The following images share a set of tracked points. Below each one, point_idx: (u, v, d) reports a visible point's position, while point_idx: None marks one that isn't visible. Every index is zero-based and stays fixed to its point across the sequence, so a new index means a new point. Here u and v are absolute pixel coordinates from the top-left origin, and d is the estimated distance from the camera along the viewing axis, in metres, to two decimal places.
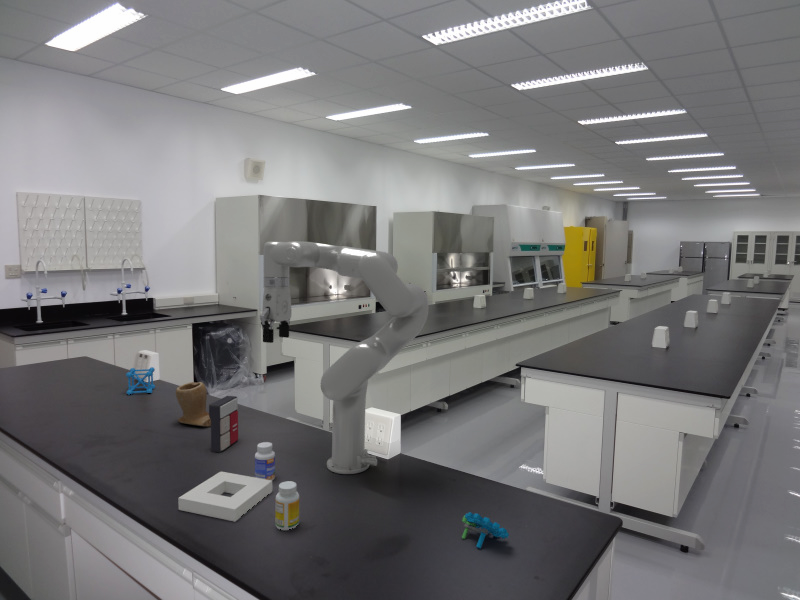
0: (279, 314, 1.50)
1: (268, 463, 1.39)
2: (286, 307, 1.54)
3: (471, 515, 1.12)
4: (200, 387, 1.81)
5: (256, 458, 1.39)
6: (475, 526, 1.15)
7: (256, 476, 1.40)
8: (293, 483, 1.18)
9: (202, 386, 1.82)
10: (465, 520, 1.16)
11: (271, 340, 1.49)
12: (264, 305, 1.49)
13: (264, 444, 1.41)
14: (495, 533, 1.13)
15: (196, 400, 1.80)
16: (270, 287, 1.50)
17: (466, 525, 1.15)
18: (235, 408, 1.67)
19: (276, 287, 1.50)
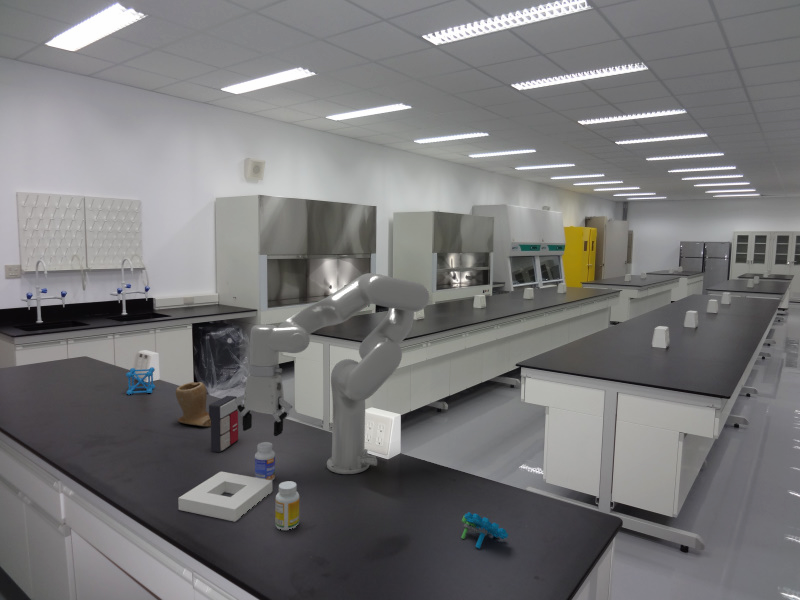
0: None
1: (268, 463, 1.39)
2: None
3: (470, 515, 1.12)
4: (200, 387, 1.81)
5: (256, 458, 1.39)
6: (475, 526, 1.15)
7: (256, 476, 1.40)
8: (293, 483, 1.18)
9: (202, 386, 1.82)
10: (465, 520, 1.16)
11: None
12: (276, 396, 1.37)
13: (264, 444, 1.41)
14: (494, 533, 1.13)
15: (196, 400, 1.80)
16: (276, 375, 1.38)
17: (466, 525, 1.15)
18: (235, 408, 1.67)
19: None
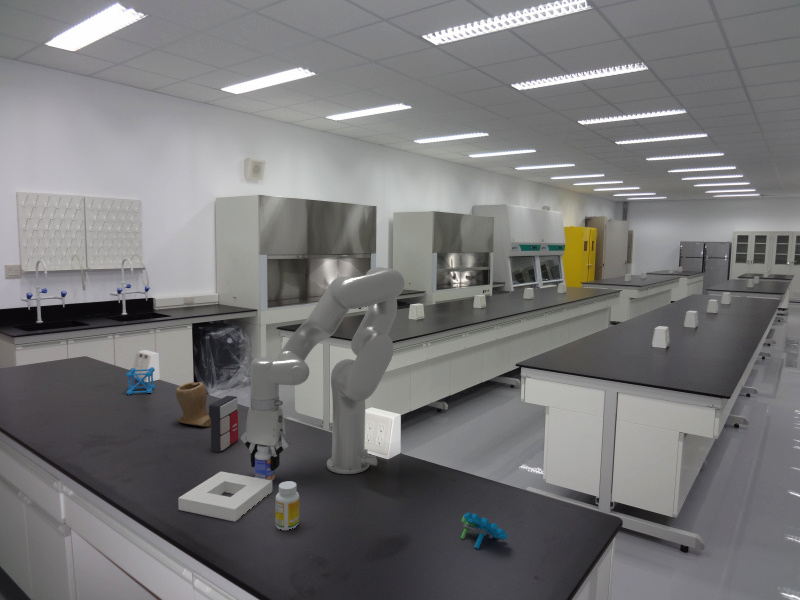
0: None
1: (268, 463, 1.39)
2: None
3: (469, 515, 1.12)
4: (200, 387, 1.81)
5: (256, 458, 1.39)
6: (474, 526, 1.15)
7: (256, 476, 1.40)
8: (293, 483, 1.18)
9: (202, 386, 1.82)
10: (464, 520, 1.16)
11: None
12: (278, 429, 1.38)
13: None
14: (494, 534, 1.13)
15: (196, 400, 1.80)
16: (277, 408, 1.39)
17: (465, 525, 1.15)
18: (235, 408, 1.67)
19: (278, 406, 1.41)
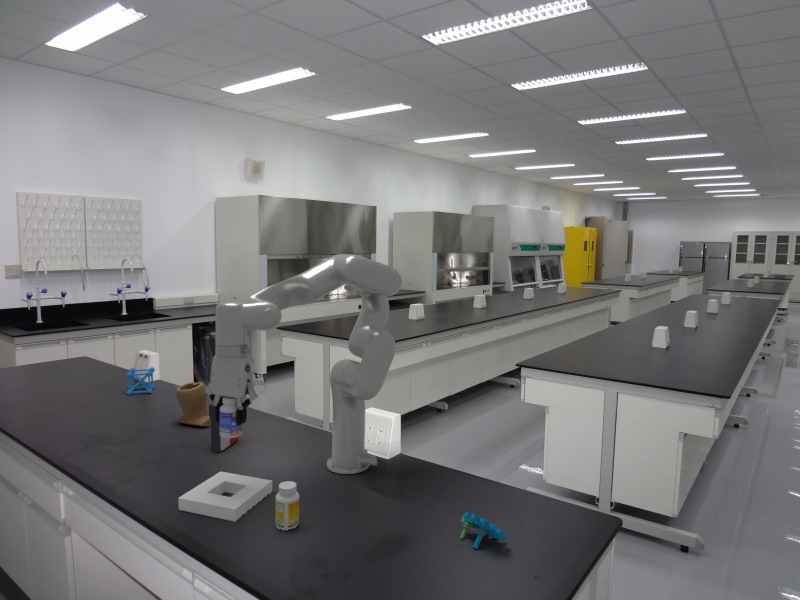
0: None
1: (233, 416, 1.26)
2: None
3: (468, 515, 1.12)
4: (200, 387, 1.81)
5: (221, 411, 1.27)
6: (473, 527, 1.15)
7: (220, 431, 1.27)
8: (293, 483, 1.18)
9: (202, 386, 1.82)
10: (464, 520, 1.16)
11: None
12: (245, 379, 1.25)
13: None
14: (493, 534, 1.12)
15: (196, 400, 1.80)
16: (244, 356, 1.26)
17: (464, 525, 1.15)
18: None
19: None
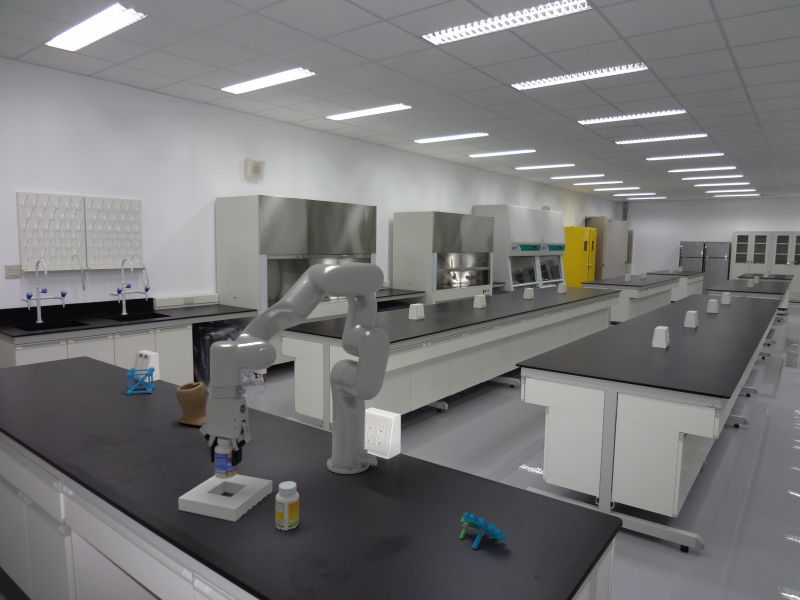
0: None
1: (229, 457, 1.26)
2: None
3: (468, 515, 1.12)
4: (200, 387, 1.81)
5: (216, 452, 1.26)
6: (473, 527, 1.15)
7: (215, 472, 1.26)
8: (293, 483, 1.18)
9: (202, 386, 1.82)
10: (463, 520, 1.16)
11: (240, 459, 1.28)
12: (240, 420, 1.24)
13: None
14: (492, 535, 1.12)
15: (196, 400, 1.80)
16: (239, 397, 1.26)
17: (464, 525, 1.15)
18: None
19: (241, 394, 1.27)
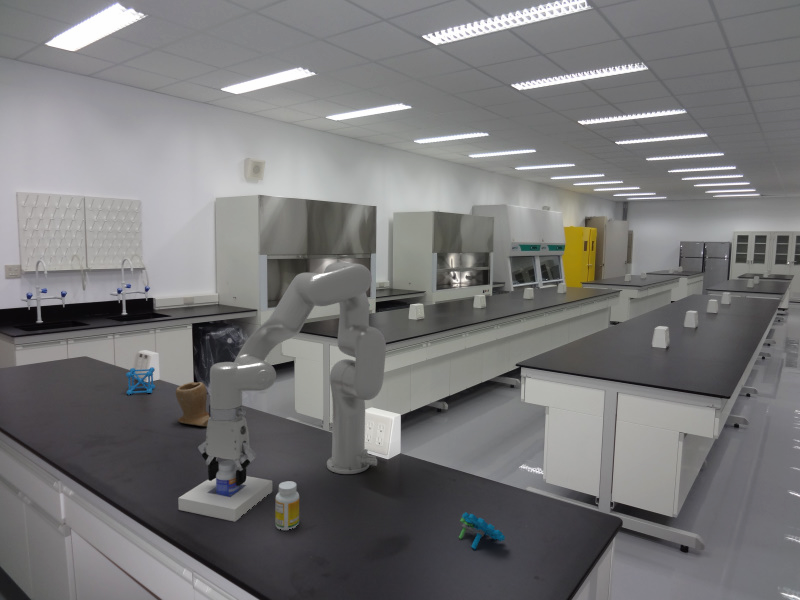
0: None
1: (230, 483, 1.27)
2: None
3: (467, 515, 1.12)
4: (200, 387, 1.81)
5: (217, 478, 1.27)
6: (473, 527, 1.14)
7: None
8: (293, 483, 1.18)
9: (202, 386, 1.82)
10: (463, 520, 1.16)
11: None
12: (240, 441, 1.25)
13: (226, 462, 1.29)
14: (492, 535, 1.12)
15: (196, 400, 1.80)
16: (239, 418, 1.26)
17: (463, 525, 1.15)
18: None
19: None
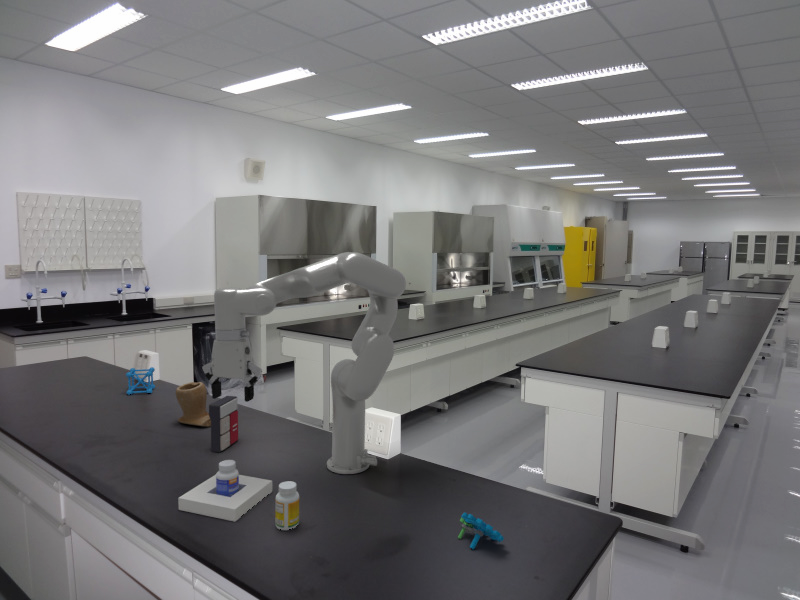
0: None
1: (230, 483, 1.27)
2: None
3: (466, 515, 1.12)
4: (200, 387, 1.81)
5: (217, 478, 1.27)
6: (472, 527, 1.14)
7: None
8: (293, 483, 1.18)
9: (202, 386, 1.82)
10: (463, 520, 1.16)
11: (252, 396, 1.36)
12: (245, 360, 1.32)
13: (226, 462, 1.29)
14: (491, 536, 1.12)
15: (196, 400, 1.80)
16: (243, 339, 1.33)
17: (463, 525, 1.15)
18: (235, 408, 1.67)
19: (245, 338, 1.35)
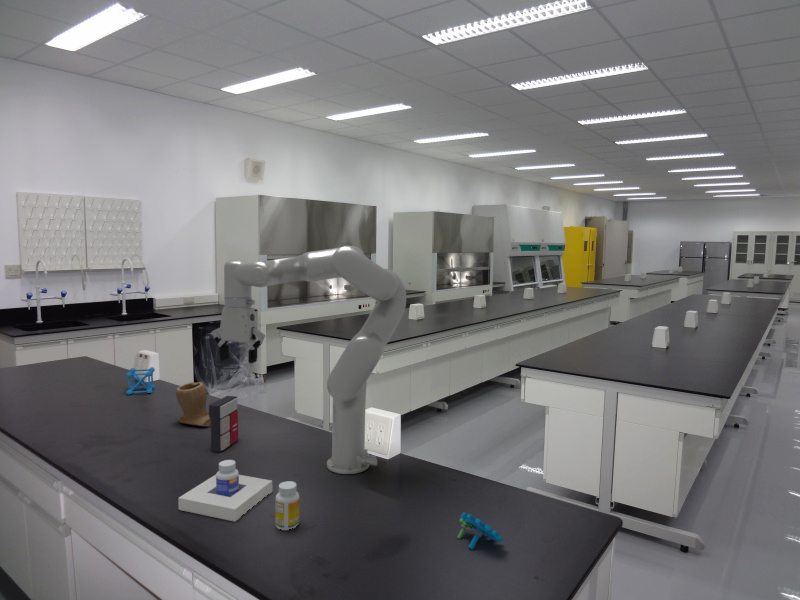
0: None
1: (230, 483, 1.27)
2: None
3: (465, 515, 1.12)
4: (200, 387, 1.81)
5: (217, 478, 1.27)
6: (471, 527, 1.14)
7: None
8: (293, 483, 1.18)
9: (202, 386, 1.82)
10: (462, 520, 1.16)
11: None
12: (250, 326, 1.47)
13: (226, 462, 1.29)
14: (490, 536, 1.12)
15: (196, 400, 1.80)
16: (249, 307, 1.48)
17: (462, 525, 1.15)
18: (235, 408, 1.67)
19: None
